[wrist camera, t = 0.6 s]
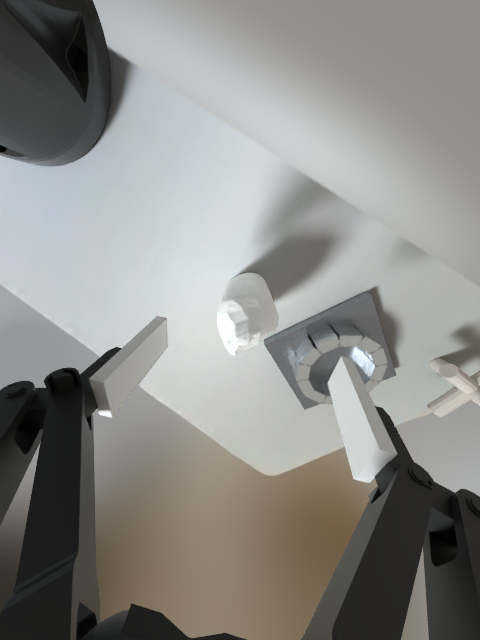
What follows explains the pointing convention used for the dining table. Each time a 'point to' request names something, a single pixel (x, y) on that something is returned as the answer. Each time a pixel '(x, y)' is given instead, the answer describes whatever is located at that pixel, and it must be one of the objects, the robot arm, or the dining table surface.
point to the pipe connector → (464, 390)
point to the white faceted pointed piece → (246, 312)
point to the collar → (332, 349)
